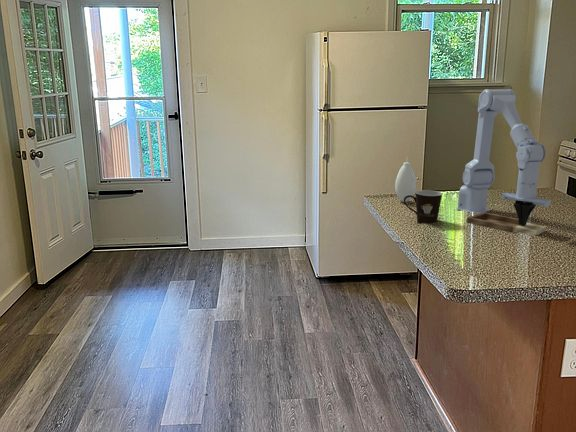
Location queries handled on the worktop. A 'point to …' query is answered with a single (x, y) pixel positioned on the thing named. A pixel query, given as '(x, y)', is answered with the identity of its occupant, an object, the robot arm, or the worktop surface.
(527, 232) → the beige rectangular block
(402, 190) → the sauce bottle
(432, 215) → the coffee mug
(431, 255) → the worktop surface
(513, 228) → the walnut box
